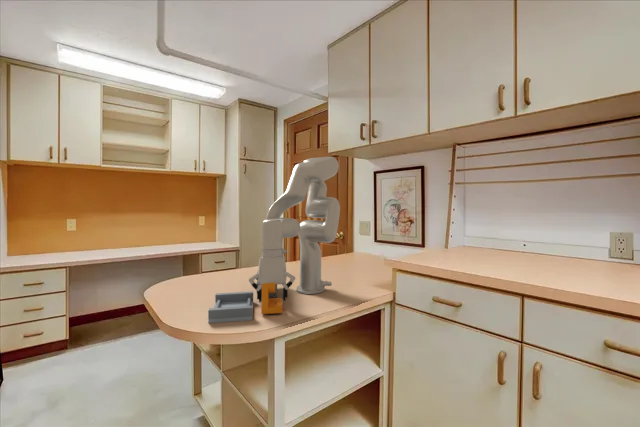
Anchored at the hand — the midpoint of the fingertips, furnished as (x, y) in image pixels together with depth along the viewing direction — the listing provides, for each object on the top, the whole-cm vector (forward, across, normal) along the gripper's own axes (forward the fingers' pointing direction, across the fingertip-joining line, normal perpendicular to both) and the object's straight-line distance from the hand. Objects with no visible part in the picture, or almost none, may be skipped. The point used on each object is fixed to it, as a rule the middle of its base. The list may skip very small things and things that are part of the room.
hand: (272, 300), depth 107 cm
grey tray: (+4, +14, -1) cm, 14 cm away
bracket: (+4, 0, 0) cm, 4 cm away
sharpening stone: (+4, +1, -20) cm, 20 cm away
